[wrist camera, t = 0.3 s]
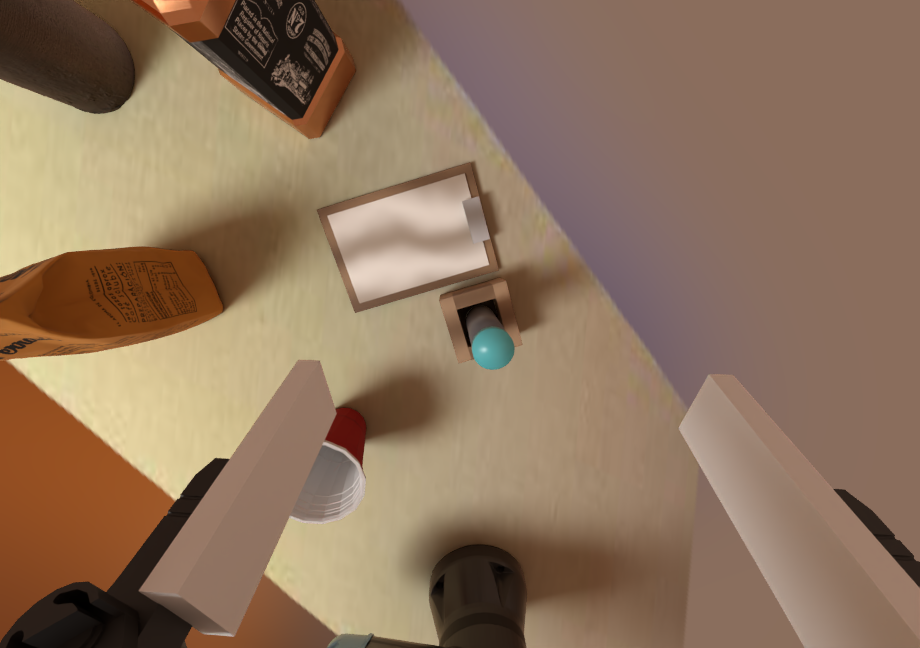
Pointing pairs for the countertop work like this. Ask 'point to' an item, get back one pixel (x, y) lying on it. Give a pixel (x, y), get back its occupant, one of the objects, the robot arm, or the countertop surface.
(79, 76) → the pillar candle
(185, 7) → the whiskey bottle
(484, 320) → the marker
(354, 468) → the plastic cup
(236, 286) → the countertop surface
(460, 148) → the countertop surface
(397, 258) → the clipboard
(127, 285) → the coffee package
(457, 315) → the stand
